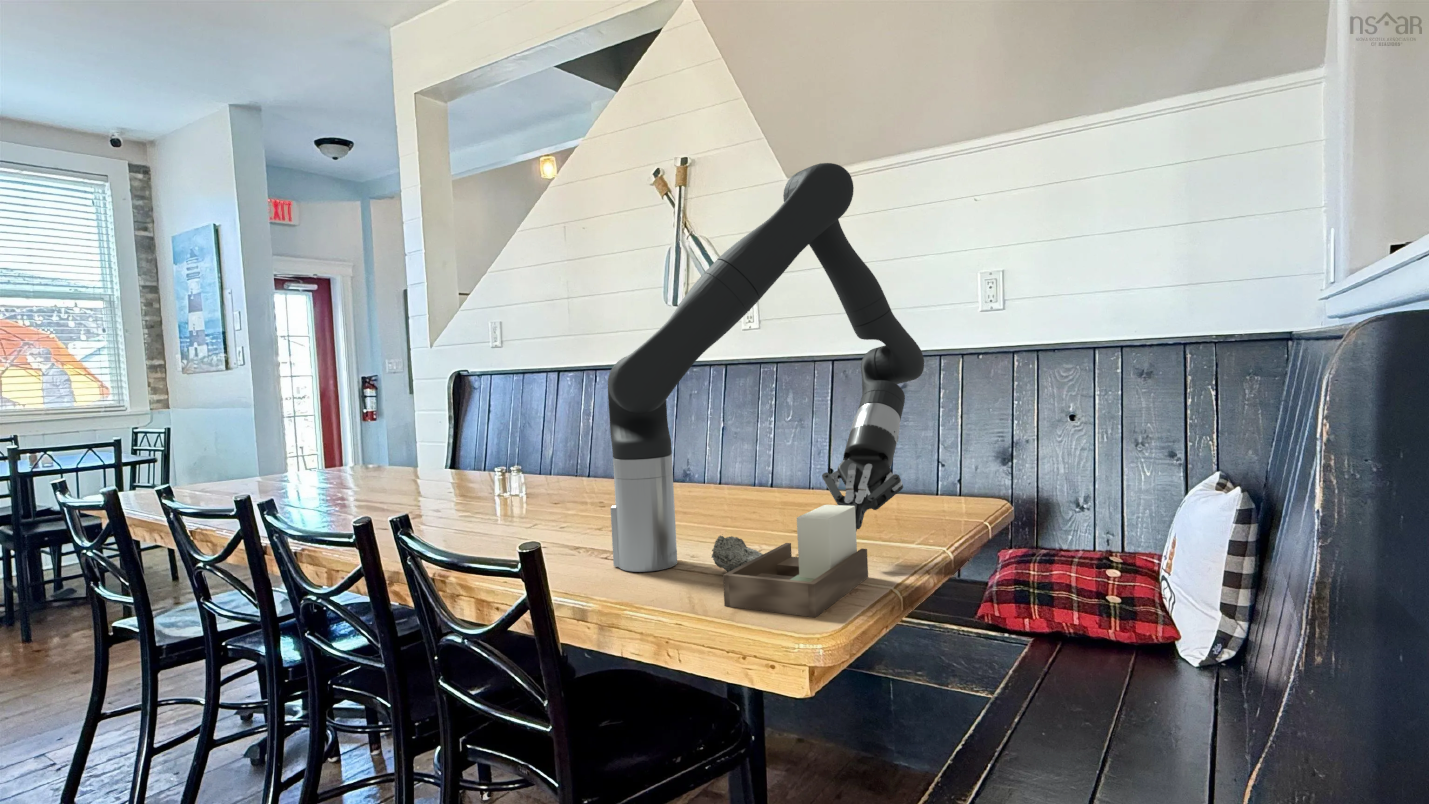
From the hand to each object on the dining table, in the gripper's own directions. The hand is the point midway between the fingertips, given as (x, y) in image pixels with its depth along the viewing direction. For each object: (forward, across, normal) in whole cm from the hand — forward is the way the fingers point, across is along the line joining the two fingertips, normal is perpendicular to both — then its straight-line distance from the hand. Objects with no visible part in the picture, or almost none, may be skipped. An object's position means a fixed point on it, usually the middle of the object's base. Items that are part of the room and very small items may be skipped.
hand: (849, 529), depth 113 cm
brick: (+9, 0, -3) cm, 9 cm away
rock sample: (+9, -14, 0) cm, 16 cm away
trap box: (+13, -2, -5) cm, 14 cm away
